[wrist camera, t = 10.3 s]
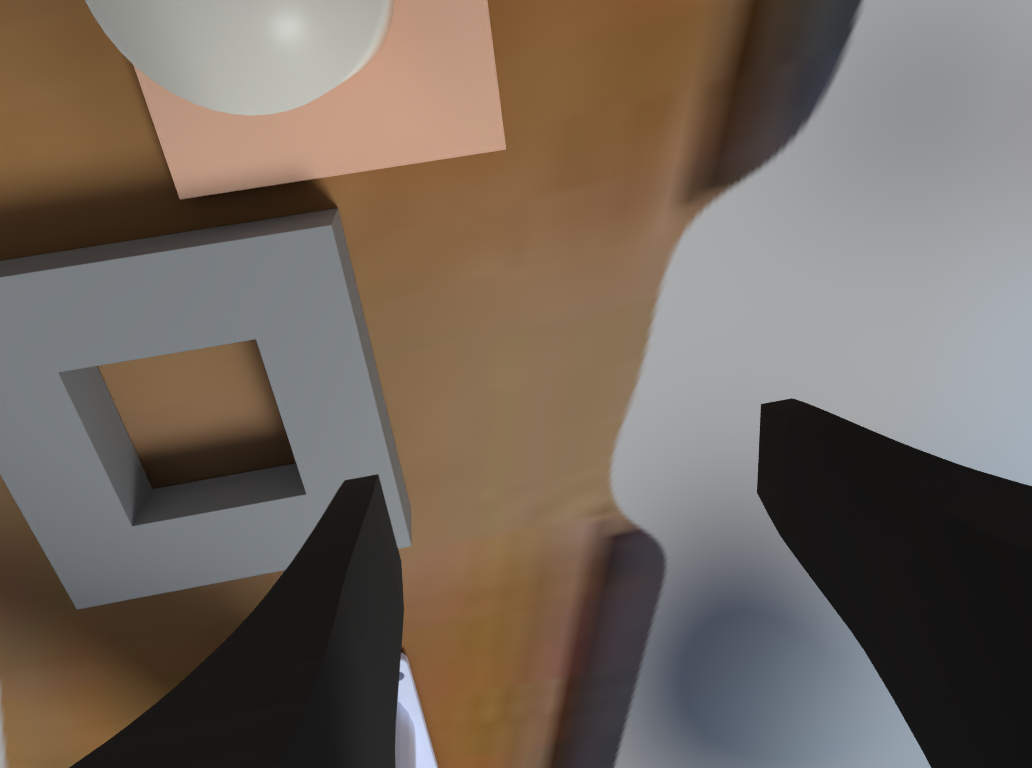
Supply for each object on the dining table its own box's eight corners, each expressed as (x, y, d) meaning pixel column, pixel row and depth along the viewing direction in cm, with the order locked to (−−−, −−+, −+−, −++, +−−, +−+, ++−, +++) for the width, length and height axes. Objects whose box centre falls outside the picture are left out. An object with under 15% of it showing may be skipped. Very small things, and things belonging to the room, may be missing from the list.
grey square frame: (411, 509, 25) (411, 546, 24) (100, 568, 25) (77, 609, 23) (338, 208, 20) (331, 224, 18) (-57, 269, 20) (-103, 293, 18)
